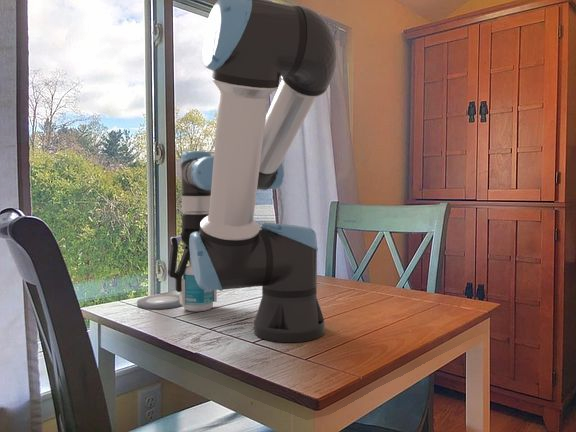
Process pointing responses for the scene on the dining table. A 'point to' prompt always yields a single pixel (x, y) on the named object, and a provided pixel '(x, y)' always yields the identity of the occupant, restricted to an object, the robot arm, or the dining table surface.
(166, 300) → the coaster
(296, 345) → the dining table surface
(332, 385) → the dining table surface
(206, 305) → the pill bottle
